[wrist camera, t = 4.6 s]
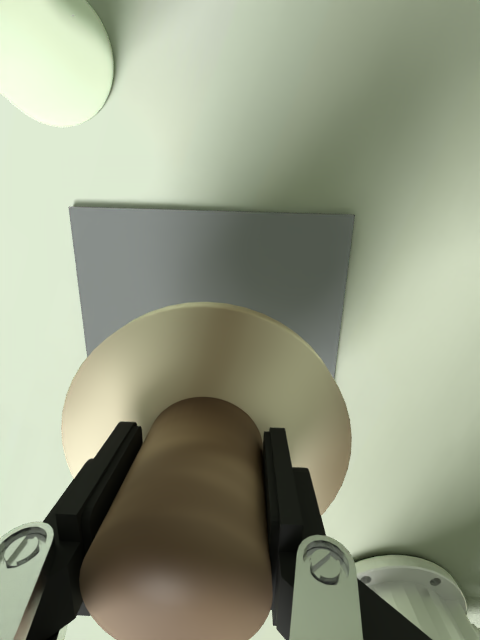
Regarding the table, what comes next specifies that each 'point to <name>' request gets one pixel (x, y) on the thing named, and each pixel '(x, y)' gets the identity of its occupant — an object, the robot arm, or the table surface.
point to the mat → (213, 267)
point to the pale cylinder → (54, 60)
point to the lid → (198, 465)
